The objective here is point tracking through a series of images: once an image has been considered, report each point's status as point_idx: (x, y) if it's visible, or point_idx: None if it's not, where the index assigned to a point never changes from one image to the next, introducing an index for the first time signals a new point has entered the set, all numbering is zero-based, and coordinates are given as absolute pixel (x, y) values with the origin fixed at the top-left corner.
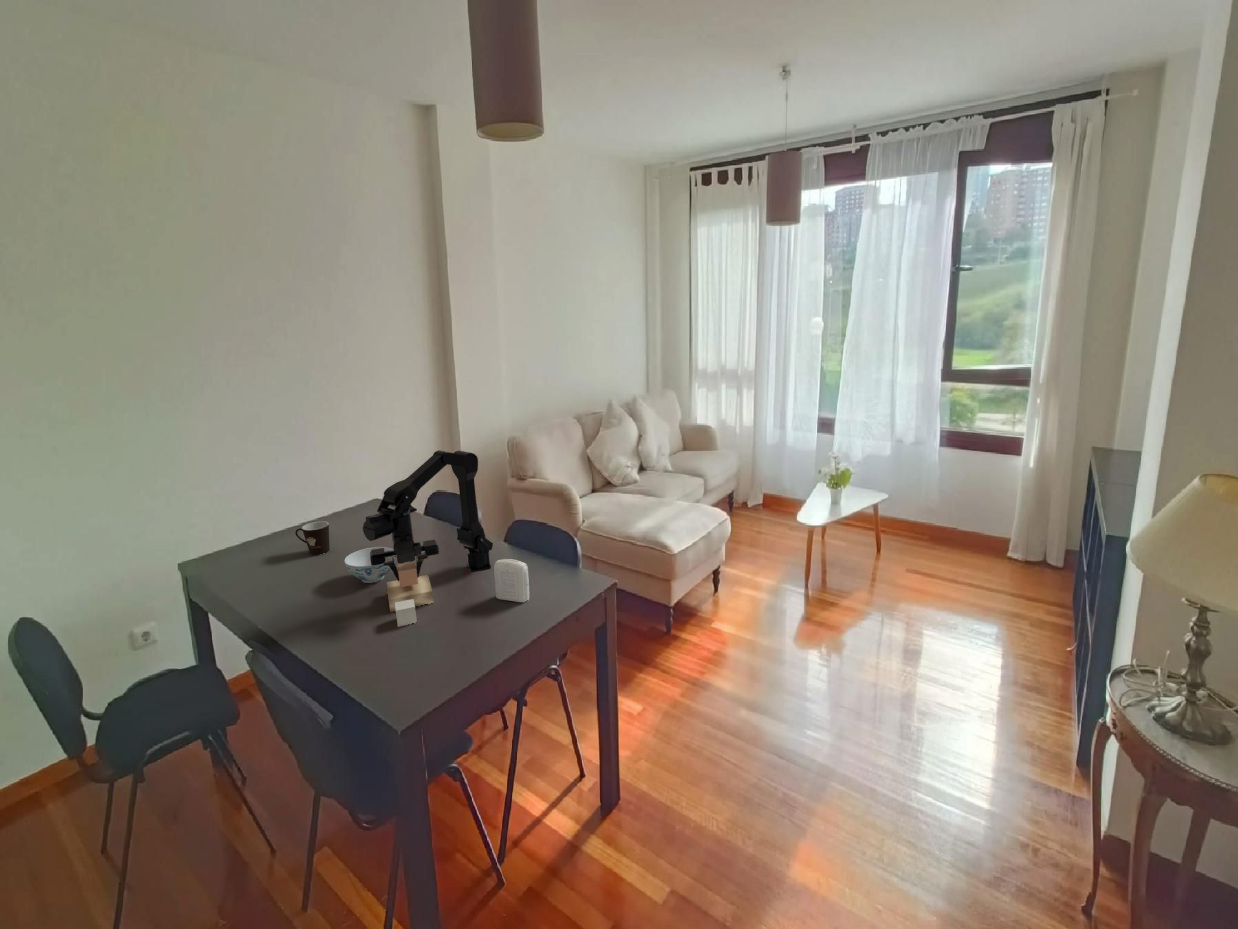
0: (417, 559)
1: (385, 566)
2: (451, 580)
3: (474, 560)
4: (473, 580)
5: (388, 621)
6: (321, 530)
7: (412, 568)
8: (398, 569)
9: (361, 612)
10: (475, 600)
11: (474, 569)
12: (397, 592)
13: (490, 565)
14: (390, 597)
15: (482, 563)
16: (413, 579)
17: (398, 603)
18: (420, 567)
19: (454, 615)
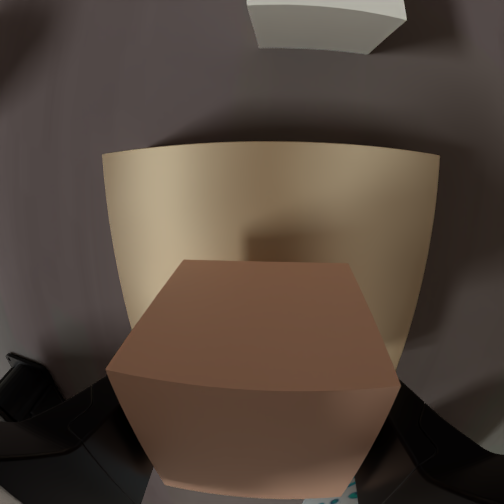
0: (28, 476)
1: (347, 491)
2: (92, 351)
3: (23, 393)
4: (24, 306)
5: (409, 48)
6: None
7: (161, 395)
8: (370, 436)
9: (500, 228)
10: (3, 126)
11: (37, 369)
12: (365, 247)
13: (9, 362)
14: (425, 182)
15: (12, 373)
16: (207, 287)
17: None
18: (90, 388)
19: (81, 4)
